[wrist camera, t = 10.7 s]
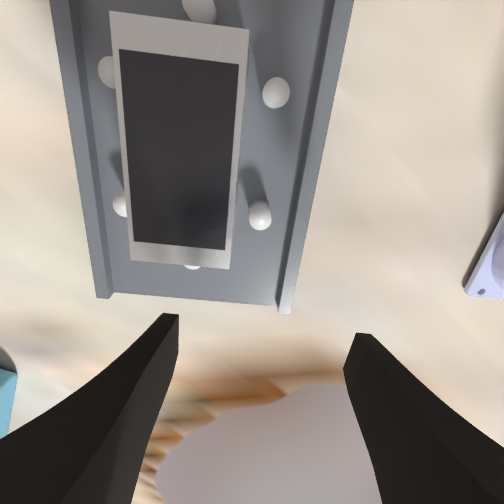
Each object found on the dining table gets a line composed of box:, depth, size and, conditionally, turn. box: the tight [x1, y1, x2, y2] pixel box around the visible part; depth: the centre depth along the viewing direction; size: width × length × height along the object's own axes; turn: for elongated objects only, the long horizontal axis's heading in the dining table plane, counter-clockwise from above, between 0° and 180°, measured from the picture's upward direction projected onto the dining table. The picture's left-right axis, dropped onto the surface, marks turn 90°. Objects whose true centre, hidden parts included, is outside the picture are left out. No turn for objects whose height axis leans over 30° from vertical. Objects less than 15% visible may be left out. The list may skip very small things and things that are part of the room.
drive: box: [109, 11, 250, 269], centre depth 13 cm, size 4×9×5 cm, turn 174°
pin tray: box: [50, 0, 354, 315], centre depth 15 cm, size 13×20×3 cm, turn 174°
